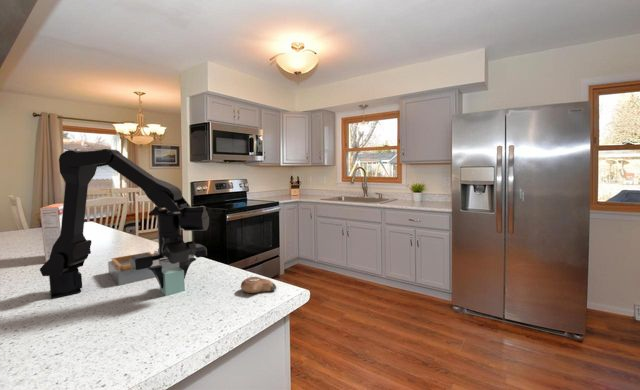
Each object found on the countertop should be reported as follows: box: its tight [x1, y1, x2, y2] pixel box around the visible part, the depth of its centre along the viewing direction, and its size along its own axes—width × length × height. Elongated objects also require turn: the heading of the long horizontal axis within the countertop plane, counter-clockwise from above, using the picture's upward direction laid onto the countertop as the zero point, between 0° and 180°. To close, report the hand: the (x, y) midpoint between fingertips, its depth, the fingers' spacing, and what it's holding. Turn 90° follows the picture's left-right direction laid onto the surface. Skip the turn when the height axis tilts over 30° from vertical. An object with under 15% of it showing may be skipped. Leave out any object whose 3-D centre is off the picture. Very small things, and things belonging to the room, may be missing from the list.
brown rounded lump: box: [240, 276, 277, 294], centre depth 87 cm, size 9×4×8 cm
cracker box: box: [39, 202, 64, 264], centre depth 121 cm, size 14×6×21 cm, turn 25°
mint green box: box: [159, 266, 186, 297], centre depth 89 cm, size 5×7×6 cm
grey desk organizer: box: [107, 250, 179, 286], centre depth 104 cm, size 18×15×5 cm
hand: (172, 285), depth 88 cm, fingers closed on mint green box, 5 cm apart
